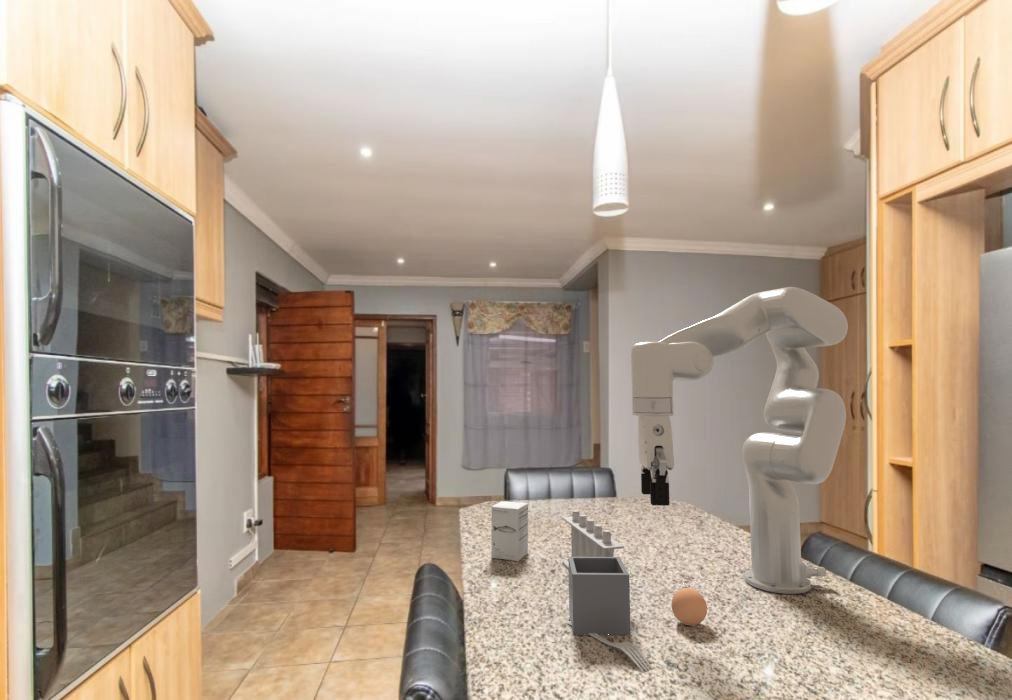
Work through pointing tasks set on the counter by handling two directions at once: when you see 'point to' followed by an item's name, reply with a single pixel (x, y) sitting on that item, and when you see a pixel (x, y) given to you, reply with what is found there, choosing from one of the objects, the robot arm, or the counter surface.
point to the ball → (689, 606)
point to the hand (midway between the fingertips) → (654, 499)
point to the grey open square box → (599, 596)
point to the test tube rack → (589, 538)
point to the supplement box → (509, 530)
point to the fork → (624, 647)
